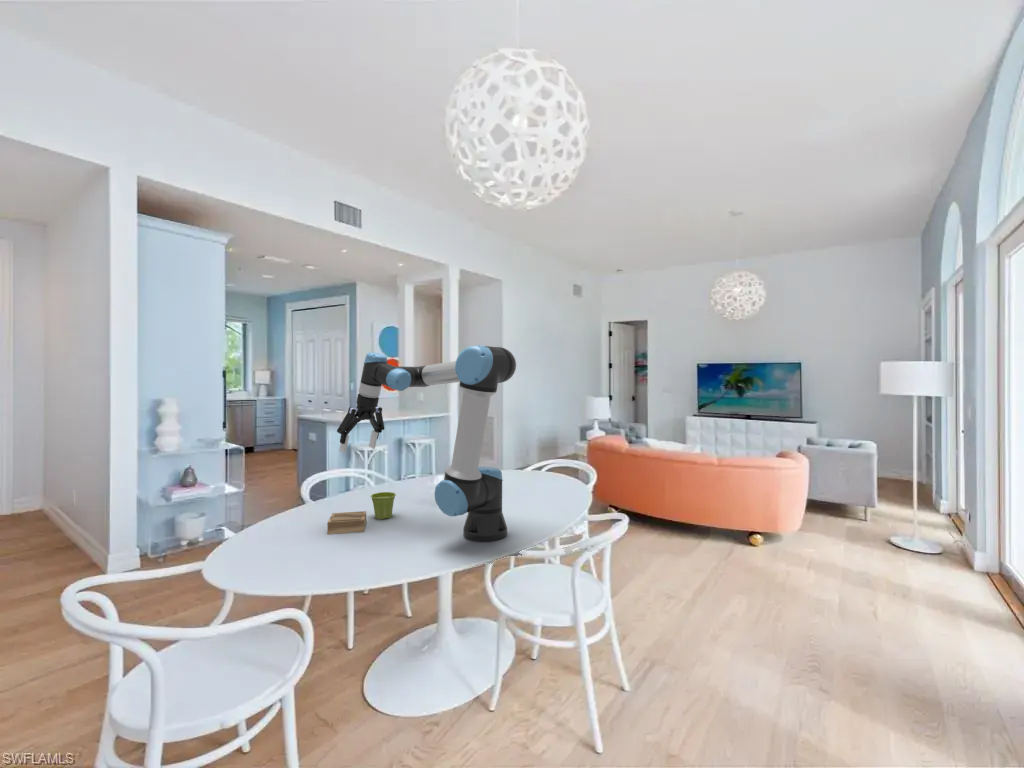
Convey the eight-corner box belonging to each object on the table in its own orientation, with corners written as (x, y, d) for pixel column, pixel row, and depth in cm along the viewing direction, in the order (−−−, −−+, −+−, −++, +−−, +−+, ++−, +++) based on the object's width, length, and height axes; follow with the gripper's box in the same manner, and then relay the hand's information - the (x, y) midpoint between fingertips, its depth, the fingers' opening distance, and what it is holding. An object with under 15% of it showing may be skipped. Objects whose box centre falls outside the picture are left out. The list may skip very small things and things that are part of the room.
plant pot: (389, 521, 188) (389, 498, 187) (366, 520, 190) (366, 497, 189) (400, 514, 197) (399, 492, 197) (377, 513, 199) (377, 491, 199)
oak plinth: (363, 531, 175) (363, 519, 175) (327, 534, 173) (327, 521, 173) (366, 521, 187) (366, 510, 187) (332, 524, 185) (332, 512, 184)
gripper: (387, 391, 195) (376, 442, 199) (333, 392, 174) (322, 449, 178) (400, 397, 191) (389, 449, 195) (347, 399, 170) (335, 457, 174)
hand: (357, 449), depth 186 cm, fingers open, 13 cm apart
